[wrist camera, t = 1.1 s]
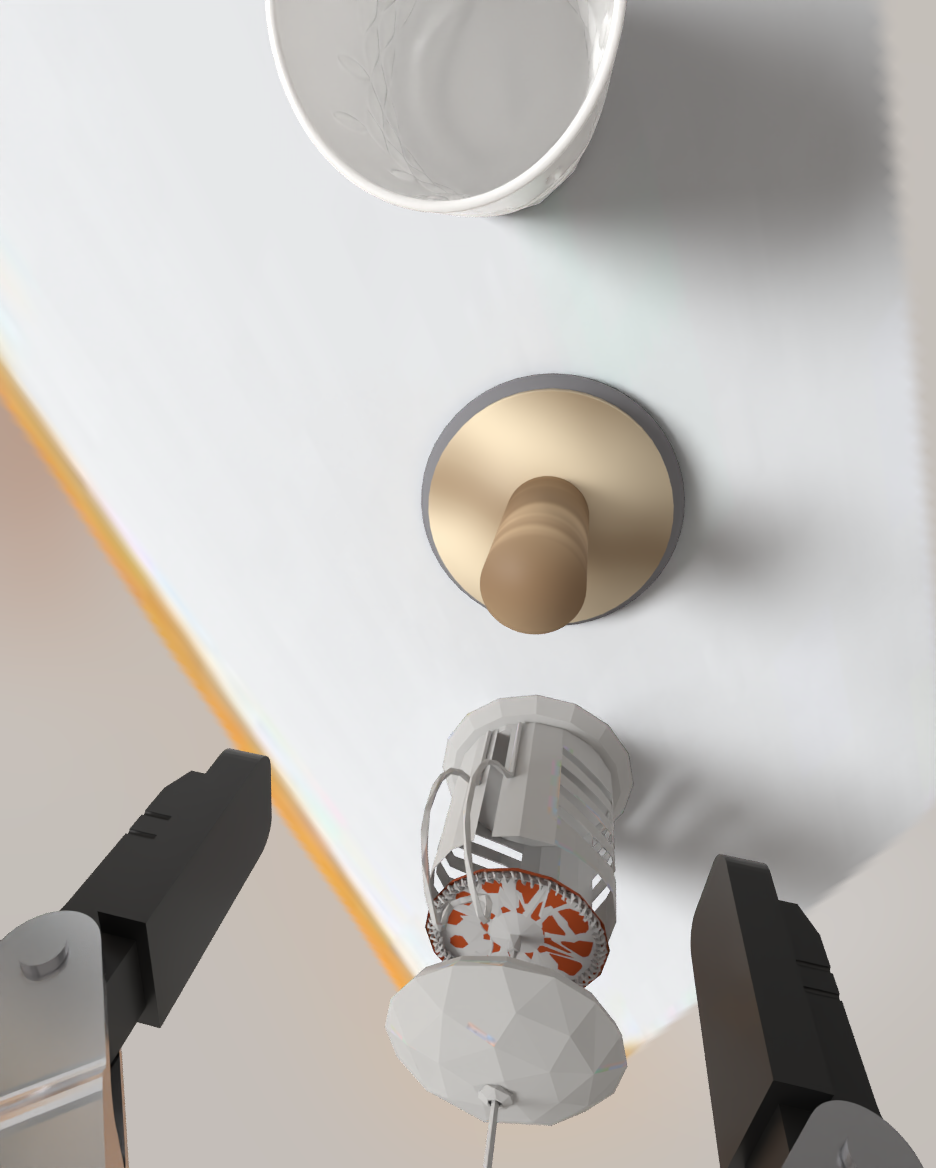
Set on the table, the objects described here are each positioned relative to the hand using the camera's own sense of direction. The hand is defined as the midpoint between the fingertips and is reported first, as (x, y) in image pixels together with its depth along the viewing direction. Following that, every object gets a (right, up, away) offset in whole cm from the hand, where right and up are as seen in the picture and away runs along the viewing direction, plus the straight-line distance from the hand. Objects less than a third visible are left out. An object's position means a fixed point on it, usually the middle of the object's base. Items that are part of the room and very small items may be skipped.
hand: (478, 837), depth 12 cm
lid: (+3, +8, +17) cm, 19 cm away
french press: (+3, -4, +23) cm, 24 cm away
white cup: (+1, +21, +11) cm, 24 cm away
